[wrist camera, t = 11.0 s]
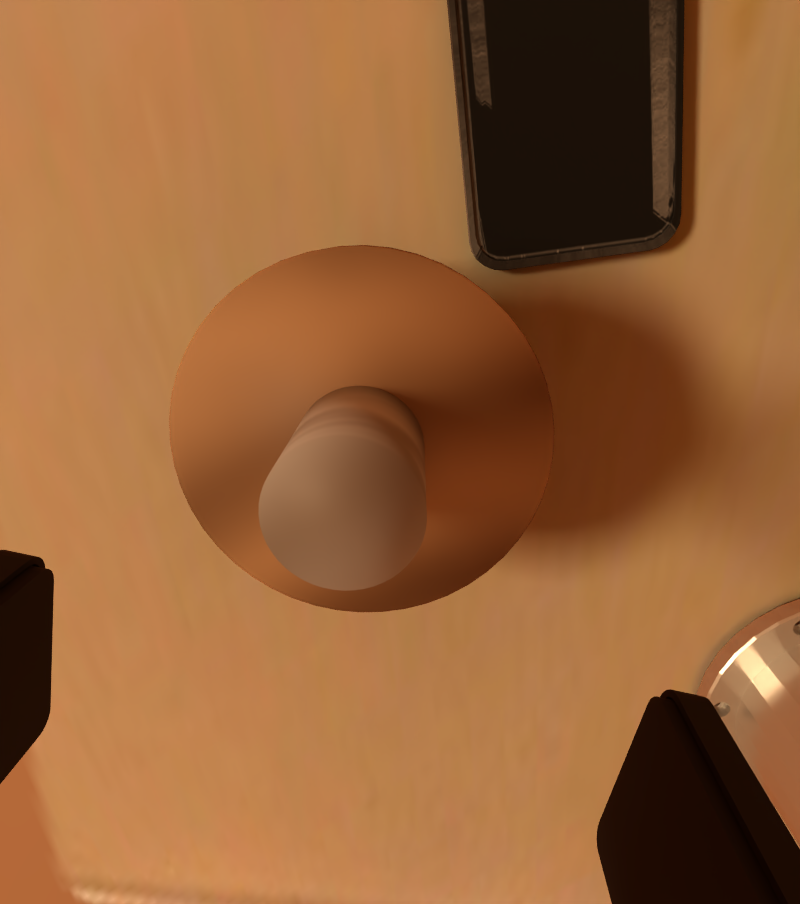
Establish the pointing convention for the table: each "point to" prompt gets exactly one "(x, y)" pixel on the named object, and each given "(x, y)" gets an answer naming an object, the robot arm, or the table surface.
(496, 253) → the phone
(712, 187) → the table surface
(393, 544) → the lid
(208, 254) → the table surface
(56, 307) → the table surface
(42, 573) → the robot arm
